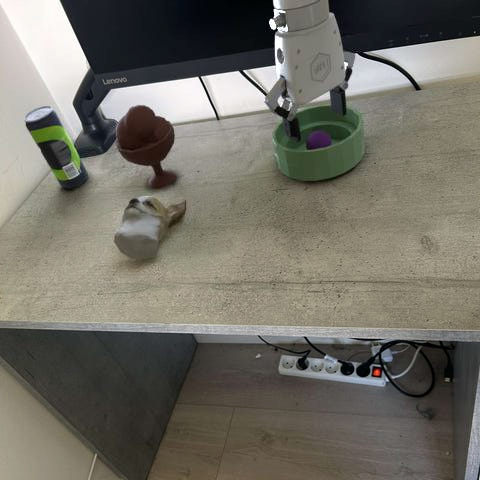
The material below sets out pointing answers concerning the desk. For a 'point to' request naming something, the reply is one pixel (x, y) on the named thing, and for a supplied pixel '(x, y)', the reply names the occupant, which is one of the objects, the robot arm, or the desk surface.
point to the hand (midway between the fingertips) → (317, 126)
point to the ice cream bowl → (146, 142)
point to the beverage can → (56, 146)
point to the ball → (318, 140)
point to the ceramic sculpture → (146, 226)
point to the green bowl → (323, 159)
